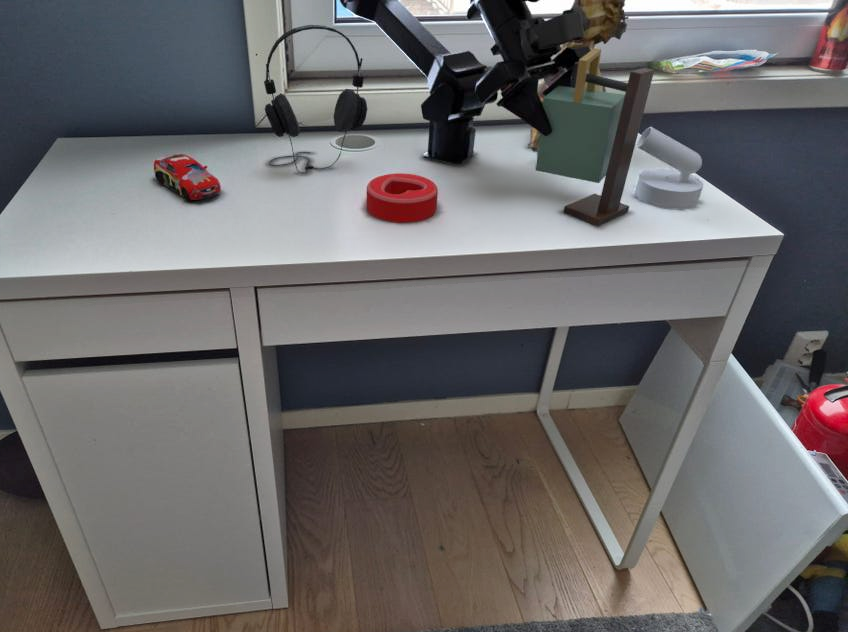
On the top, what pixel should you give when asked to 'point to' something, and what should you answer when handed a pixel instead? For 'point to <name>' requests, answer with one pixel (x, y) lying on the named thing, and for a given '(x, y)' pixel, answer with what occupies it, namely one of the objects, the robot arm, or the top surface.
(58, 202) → the top surface
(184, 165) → the race car
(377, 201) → the decorative ornament
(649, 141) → the grey spotlight lamp
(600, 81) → the hook stand
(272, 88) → the headphones
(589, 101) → the tote bag
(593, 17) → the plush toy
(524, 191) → the top surface
